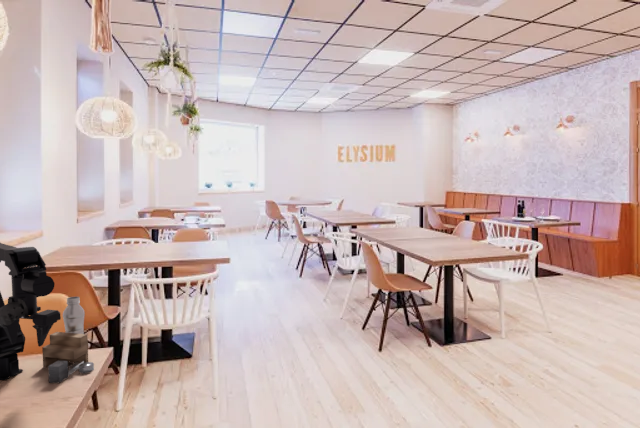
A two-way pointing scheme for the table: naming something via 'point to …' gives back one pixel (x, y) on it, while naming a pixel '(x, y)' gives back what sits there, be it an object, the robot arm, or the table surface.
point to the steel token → (86, 367)
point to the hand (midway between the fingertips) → (26, 344)
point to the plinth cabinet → (65, 348)
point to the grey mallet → (61, 370)
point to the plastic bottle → (74, 316)
